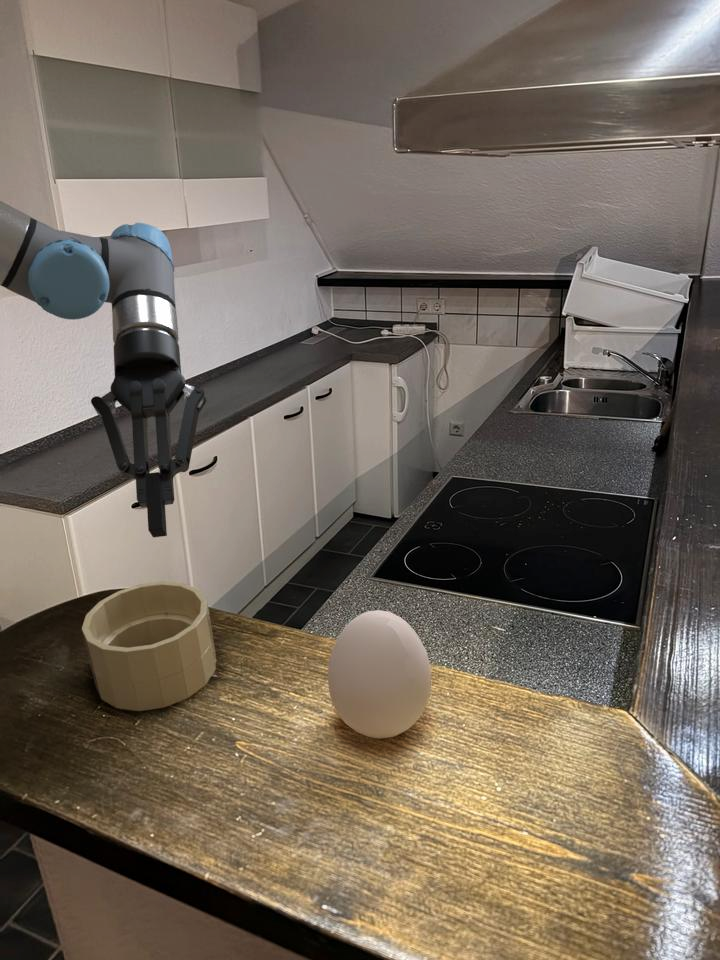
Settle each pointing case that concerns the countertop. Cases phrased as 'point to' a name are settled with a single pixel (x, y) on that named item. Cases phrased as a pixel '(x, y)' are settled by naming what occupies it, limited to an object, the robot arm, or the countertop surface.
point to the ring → (150, 645)
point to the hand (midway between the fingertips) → (157, 532)
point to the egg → (379, 675)
